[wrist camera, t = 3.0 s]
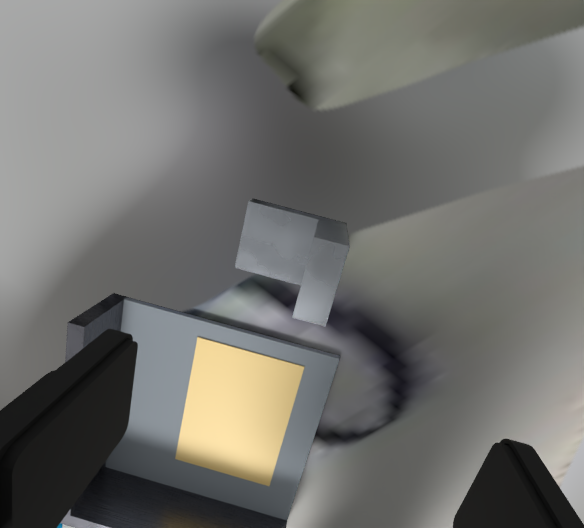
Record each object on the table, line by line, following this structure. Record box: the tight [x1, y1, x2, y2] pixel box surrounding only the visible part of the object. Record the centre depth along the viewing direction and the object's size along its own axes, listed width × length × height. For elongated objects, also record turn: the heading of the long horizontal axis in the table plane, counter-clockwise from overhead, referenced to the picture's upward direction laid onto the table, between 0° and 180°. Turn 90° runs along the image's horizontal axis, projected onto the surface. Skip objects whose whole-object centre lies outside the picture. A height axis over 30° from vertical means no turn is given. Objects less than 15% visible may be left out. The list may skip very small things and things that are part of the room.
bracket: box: [235, 199, 350, 326], centre depth 24 cm, size 7×5×7 cm
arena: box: [61, 293, 340, 528], centre depth 31 cm, size 19×19×6 cm
